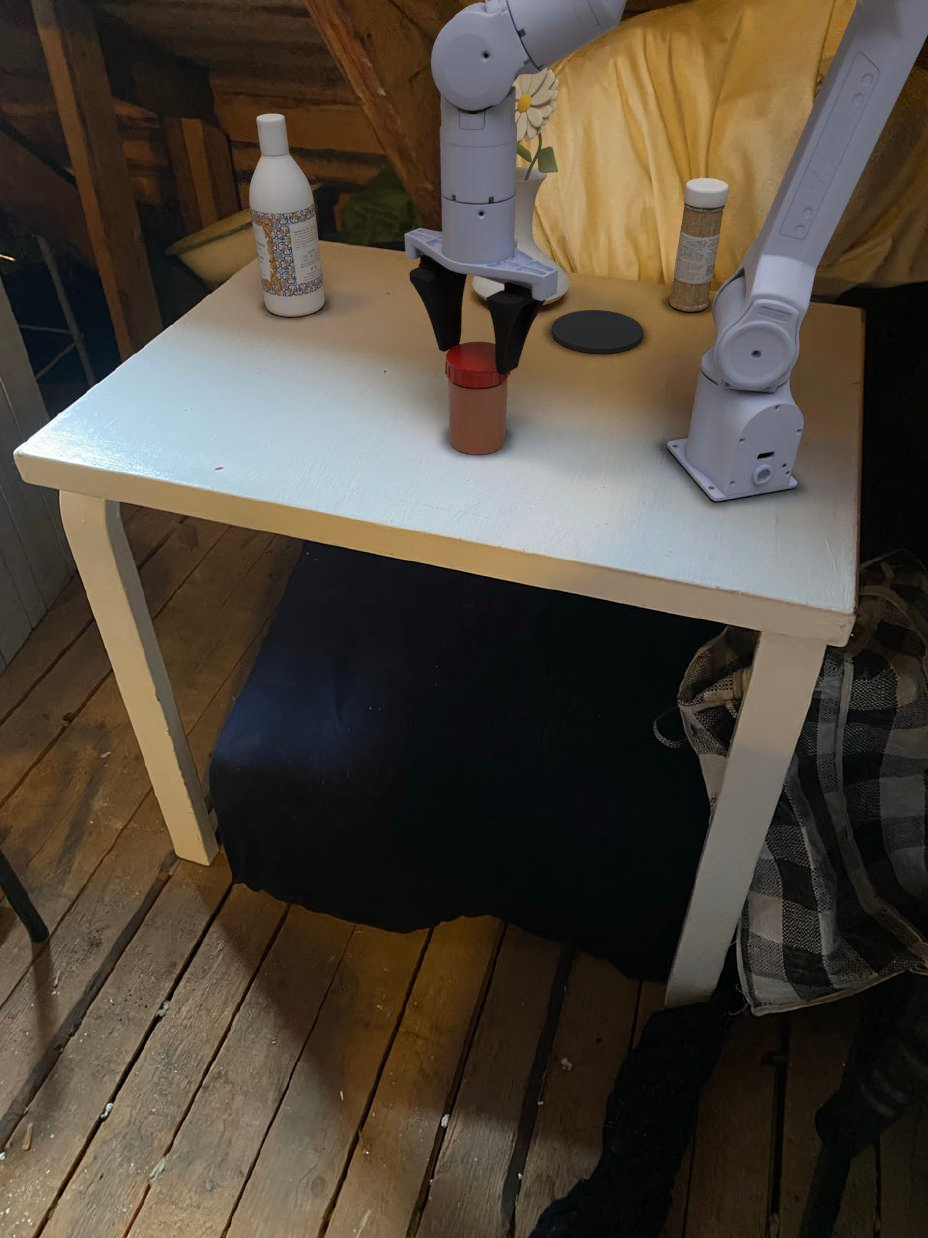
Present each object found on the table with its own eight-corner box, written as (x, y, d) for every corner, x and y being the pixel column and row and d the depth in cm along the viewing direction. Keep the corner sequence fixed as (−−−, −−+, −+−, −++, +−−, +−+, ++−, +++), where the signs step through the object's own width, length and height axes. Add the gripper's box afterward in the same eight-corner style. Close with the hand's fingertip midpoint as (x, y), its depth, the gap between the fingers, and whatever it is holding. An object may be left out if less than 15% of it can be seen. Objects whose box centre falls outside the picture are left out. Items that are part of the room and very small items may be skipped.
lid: (518, 383, 79) (519, 365, 78) (455, 392, 78) (455, 374, 77) (499, 354, 83) (499, 337, 82) (438, 363, 82) (438, 345, 81)
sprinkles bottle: (686, 294, 110) (704, 173, 101) (716, 306, 107) (738, 183, 98) (660, 304, 107) (677, 181, 98) (690, 316, 105) (710, 192, 96)
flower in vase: (460, 285, 112) (457, 47, 95) (547, 273, 114) (559, 39, 98) (494, 329, 103) (498, 73, 86) (588, 315, 105) (610, 65, 89)
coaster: (657, 347, 99) (658, 341, 99) (570, 359, 97) (570, 353, 97) (621, 310, 106) (621, 305, 106) (539, 320, 104) (539, 315, 104)
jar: (513, 449, 84) (515, 369, 78) (458, 458, 83) (456, 377, 77) (496, 422, 87) (497, 343, 82) (443, 430, 86) (441, 351, 81)
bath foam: (257, 301, 109) (227, 113, 96) (312, 289, 111) (290, 105, 98) (277, 322, 104) (248, 128, 91) (334, 310, 107) (314, 119, 93)
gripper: (586, 198, 69) (573, 366, 78) (442, 162, 76) (446, 320, 85) (528, 223, 65) (522, 397, 74) (383, 183, 72) (393, 346, 81)
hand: (477, 358), depth 80 cm, fingers open, 6 cm apart
